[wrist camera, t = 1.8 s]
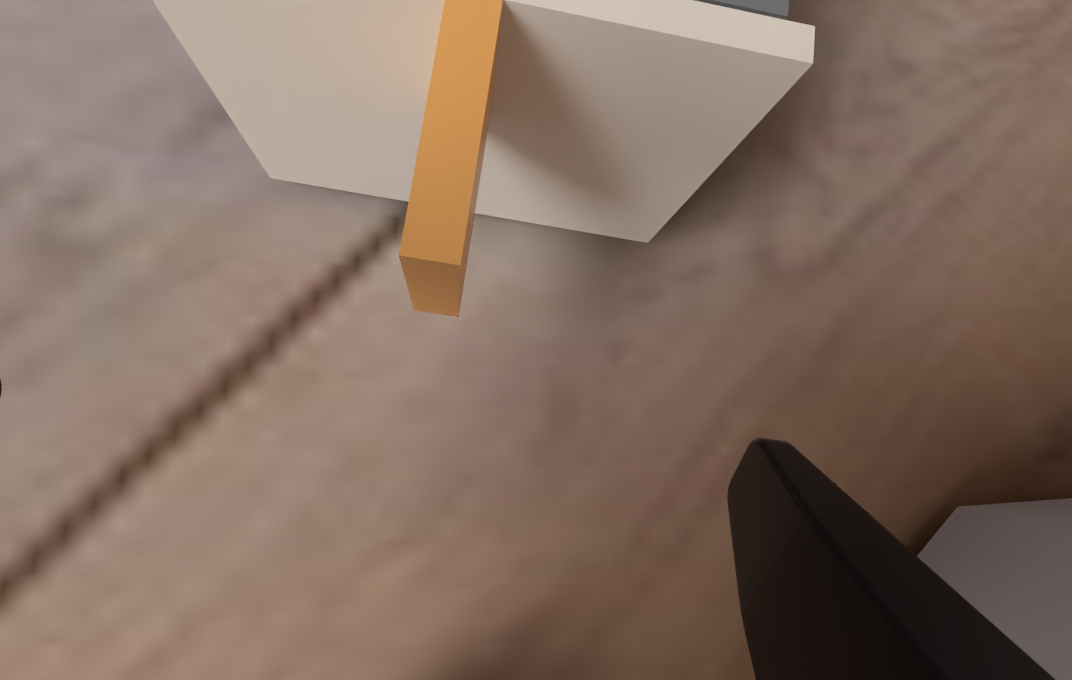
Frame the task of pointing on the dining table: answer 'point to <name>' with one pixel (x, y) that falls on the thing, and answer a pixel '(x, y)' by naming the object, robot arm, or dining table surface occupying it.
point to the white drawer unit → (494, 107)
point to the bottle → (1014, 572)
